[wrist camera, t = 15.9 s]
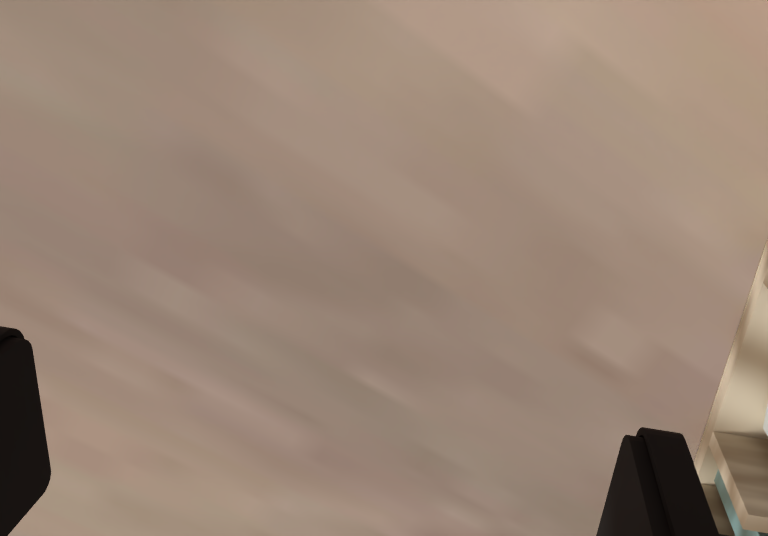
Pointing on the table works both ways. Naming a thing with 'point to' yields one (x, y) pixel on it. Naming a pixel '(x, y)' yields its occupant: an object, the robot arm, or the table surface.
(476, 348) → the table surface
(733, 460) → the book rack
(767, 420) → the small box
